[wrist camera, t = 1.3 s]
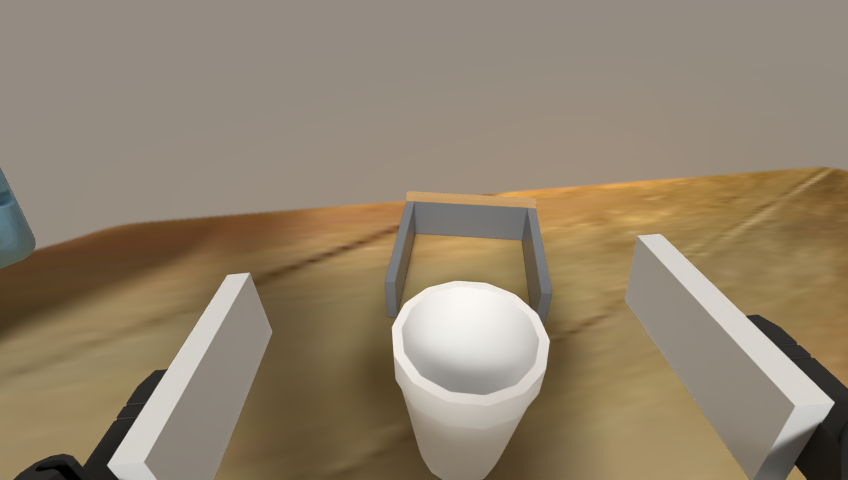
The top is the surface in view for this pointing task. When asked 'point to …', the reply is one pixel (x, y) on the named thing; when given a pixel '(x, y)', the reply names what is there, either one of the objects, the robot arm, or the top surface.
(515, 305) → the foam cup
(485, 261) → the top surface
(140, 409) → the robot arm
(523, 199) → the box
